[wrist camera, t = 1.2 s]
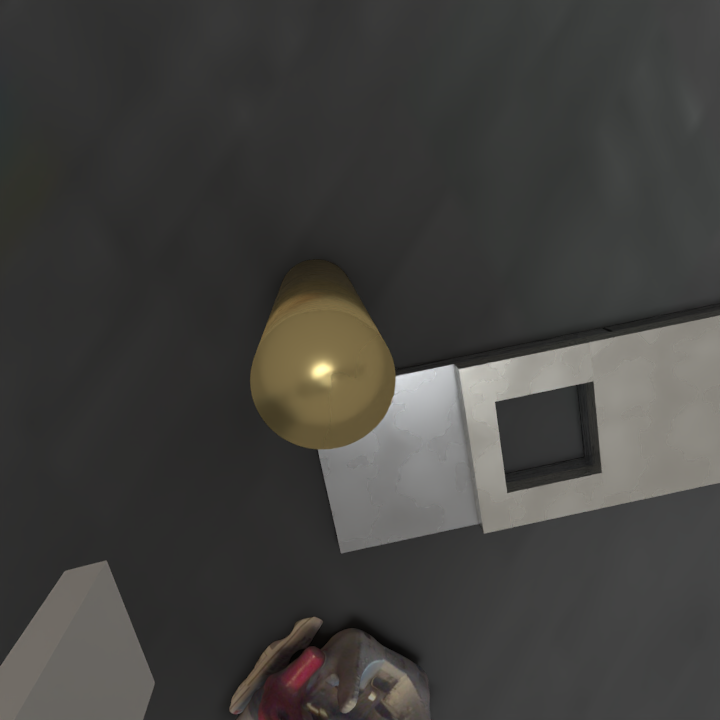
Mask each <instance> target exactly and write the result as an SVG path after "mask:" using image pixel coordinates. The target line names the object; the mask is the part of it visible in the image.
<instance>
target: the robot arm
mask: <svg viewBox="0 0 720 720" xmlns="http://www.w3.org/2000/svg"><path fill="white" fill-rule="evenodd" d="M154 685H155V682H154V679H153V677H152V674H151V671H150V669H149V666H148V664H147V661H146V659H145V656H144V654H143V651H142V649H141V646H140V644H139V641H138V639H137V636H136V634H135V631H134V628H133V626H132V623H131V621H130V618H129V616H128V613H127V611H126V608H125V606H124V603H123V601H122V598H121V596H120V593H119V591H118V588H117V585H116V583H115V580H114V578H113V575H112V573H111V570H110V568H109V565H108V563H107V560H106V561H102V562H98V563H94V564H90V565H86V566H82V567H78V568H75V569H71V570H67V571H64V573H63V574H62V576H61V577H60V579H59V580H58V582H57V583H56V585H55V586H54V588H53V589H52V591H51V592H50V594H49V595H48V597H47V598H46V600H45V601H44V603H43V604H42V605H41V607H40V608H39V610H38V611H37V613H36V614H35V616H34V617H33V619H32V620H31V622H30V623H29V625H28V626H27V628H26V629H25V631H24V632H23V634H22V635H21V636H20V638H19V639H18V641H17V642H16V644H15V645H14V647H13V648H12V650H11V651H10V653H9V654H8V656H7V657H6V659H5V660H4V662H3V663H2V665H1V666H0V720H143V718H144V715H145V712H146V709H147V706H148V703H149V700H150V697H151V694H152V691H153V688H154Z"/></svg>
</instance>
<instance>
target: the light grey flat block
mask: <svg viewBox="0 0 720 720" xmlns="http://www.w3.org/2000/svg"><path fill="white" fill-rule="evenodd" d="M604 330H606V331H609V332H608V333H603V334H598V335H593V336H588V337H583V338H578V339H574V340H569V341H564V342H559V343H554V344H549V345H544V346H540V347H535V348H530V349H525V350H520V351H515V352H510V353H506V354H501V355H496V356H491V357H486V358H481V359H477V360H472V361H467V362H462V363H457V364H454V367H455V373H456V380H457V386H458V393H459V399H460V406H461V412H462V419H463V425H464V432H465V438H466V445H467V451H468V458H469V464H470V471H471V477H472V484H473V490H474V497H475V503H476V510H477V516H478V523H479V525H480V527H481V529H482V531H483V533H489V532H494V531H498V530H503V529H507V528H512V527H517V526H521V525H526V524H531V523H535V522H540V521H544V520H549V519H554V518H558V517H563V516H568V515H572V514H577V513H581V512H586V511H591V510H595V509H600V508H605V507H609V506H614V505H619V504H623V503H628V502H632V501H637V500H642V499H646V498H651V497H656V496H660V495H665V494H669V493H674V492H679V491H683V490H688V489H693V488H697V487H702V486H707V485H711V484H716V483H720V304H716V305H711V306H706V307H701V308H696V309H691V310H686V311H682V312H677V313H672V314H667V315H662V316H657V317H652V318H648V319H643V320H638V321H633V322H628V323H623V324H618V325H614V326H609V327H604ZM583 383H585V386H586V397H587V407H588V418H589V428H590V439H591V449H592V459H593V465H590V466H585V467H580V468H576V469H571V470H566V471H562V472H557V473H552V474H548V475H543V476H538V477H533V478H529V479H524V480H519V481H515V482H510V483H506V480H505V473H504V466H503V458H502V451H501V444H500V437H499V429H498V422H497V415H496V408H495V402H496V401H501V400H506V399H511V398H515V397H520V396H525V395H530V394H535V393H539V392H544V391H549V390H554V389H559V388H563V387H568V386H573V385H578V384H583Z"/></svg>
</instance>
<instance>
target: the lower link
mask: <svg viewBox="0 0 720 720" xmlns="http://www.w3.org/2000/svg"><path fill="white" fill-rule="evenodd" d="M608 332H609V331H606V330H604V329H601V328H599V329H594V330H589V331H584V332H580V333H575V334H570V335H565V336H560V337H555V338H550V339H545V340H541V341H536V342H531V343H526V344H521V345H516V346H511V347H507V348H502V349H497V350H492V351H487V352H482V353H477V354H473V355H468V356H463V357H458V358H453V359H448V360H443V361H439V362H434V363H429V364H424V365H419V366H414V367H409V368H404V369H400V370H395V374H396V385H395V392H394V396H393V399H392V403H391V405H390V407H389V409H388V411H387V413H386V415H385V416H384V418H383V419H382V421H381V422H380V423H379V424H378V425H377V427H375V428H374V429H373V430H372V431H371V432H370V433H369V434H367V435H366V436H365V437H363V438H362V439H360V440H358V441H356V442H354V443H352V444H349V445H347V446H343V447H340V448H334V449H318V453H319V457H320V462H321V466H322V471H323V475H324V480H325V484H326V489H327V493H328V498H329V502H330V507H331V511H332V516H333V520H334V524H335V529H336V533H337V538H338V542H339V547H340V551H341V553H345V552H350V551H355V550H359V549H364V548H368V547H373V546H378V545H382V544H387V543H392V542H396V541H401V540H406V539H410V538H415V537H420V536H424V535H429V534H433V533H438V532H443V531H447V530H452V529H457V528H461V527H466V526H471V525H475V524H479V523H478V516H477V510H476V503H475V497H474V490H473V484H472V477H471V471H470V464H469V458H468V451H467V445H466V438H465V432H464V425H463V419H462V412H461V406H460V399H459V393H458V386H457V380H456V373H455V367H454V364H457V363H462V362H467V361H472V360H477V359H481V358H486V357H491V356H496V355H501V354H506V353H510V352H515V351H520V350H525V349H530V348H535V347H540V346H544V345H549V344H554V343H559V342H564V341H569V340H574V339H578V338H583V337H588V336H593V335H598V334H603V333H608ZM577 386H578V396H579V406H580V416H581V426H582V436H583V446H584V456H585V457H583V458H579V459H574V460H569V461H565V462H560V463H555V464H550V465H546V466H541V467H536V468H532V469H527V470H522V471H518V472H513V473H508V474H505V480H506V483H510V482H515V481H519V480H524V479H529V478H533V477H538V476H543V475H548V474H552V473H557V472H562V471H566V470H571V469H576V468H580V467H585V466H590V465H593V459H592V449H591V439H590V428H589V418H588V407H587V397H586V386H585V383H583V384H578V385H577Z"/></svg>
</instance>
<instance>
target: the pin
mask: <svg viewBox="0 0 720 720" xmlns="http://www.w3.org/2000/svg"><path fill="white" fill-rule="evenodd" d="M395 385H396V374H395V366H394V362H393V358H392V356H391V353H390V351H389V349H388V347H387V345H386V343H385V342H384V340H383V338H382V336H381V335H380V333H379V331H378V329H377V328H376V326H375V324H374V322H373V321H372V319H371V317H370V315H369V314H368V312H367V310H366V308H365V307H364V305H363V303H362V301H361V300H360V298H359V296H358V294H357V293H356V291H355V289H354V287H353V285H352V284H351V282H350V280H349V278H348V277H347V275H346V274H345V273H344V271H343V270H342V269H341V268H339V267H338V266H337V265H335V264H333V263H331V262H329V261H325V260H319V259H313V260H307V261H304V262H301V263H299V264H297V265H296V266H294V267H293V268H292V269H291V270H290V271H289V272H288V273H287V274H286V276H285V277H284V279H283V281H282V284H281V287H280V289H279V292H278V295H277V297H276V300H275V303H274V305H273V308H272V311H271V314H270V316H269V319H268V322H267V324H266V327H265V330H264V332H263V335H262V338H261V341H260V343H259V346H258V349H257V351H256V354H255V357H254V359H253V363H252V367H251V375H250V386H251V393H252V397H253V401H254V404H255V406H256V408H257V410H258V413H259V414H260V416H261V417H262V419H263V420H264V422H265V423H266V424H267V425H268V426H269V427H270V428H271V429H272V430H273V431H274V432H275V433H276V434H277V435H279V436H280V437H282V438H283V439H285V440H287V441H289V442H291V443H293V444H296V445H298V446H301V447H305V448H310V449H334V448H340V447H343V446H347V445H349V444H352V443H354V442H356V441H358V440H360V439H362V438H363V437H365V436H366V435H367V434H369V433H370V432H371V431H372V430H373V429H374V428H375V427H377V425H378V424H379V423H380V422H381V421H382V419H383V418H384V416H385V415H386V413H387V411H388V409H389V407H390V405H391V403H392V399H393V396H394V392H395Z"/></svg>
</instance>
